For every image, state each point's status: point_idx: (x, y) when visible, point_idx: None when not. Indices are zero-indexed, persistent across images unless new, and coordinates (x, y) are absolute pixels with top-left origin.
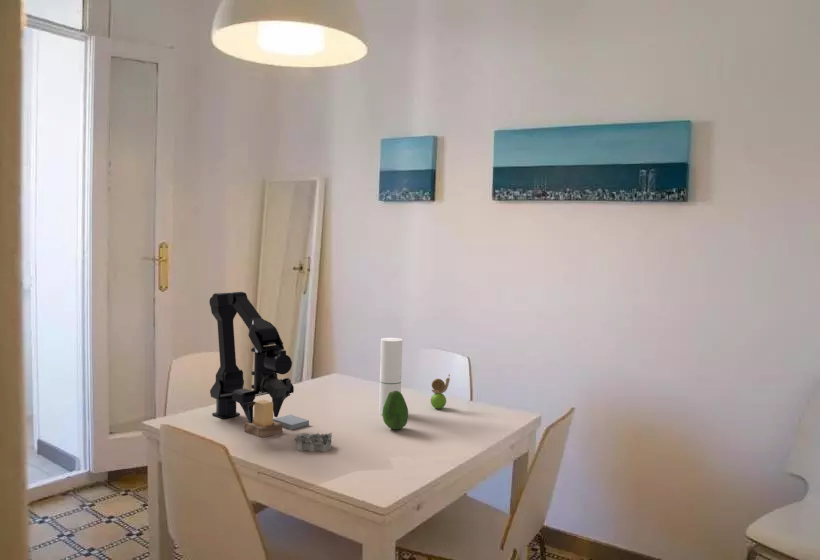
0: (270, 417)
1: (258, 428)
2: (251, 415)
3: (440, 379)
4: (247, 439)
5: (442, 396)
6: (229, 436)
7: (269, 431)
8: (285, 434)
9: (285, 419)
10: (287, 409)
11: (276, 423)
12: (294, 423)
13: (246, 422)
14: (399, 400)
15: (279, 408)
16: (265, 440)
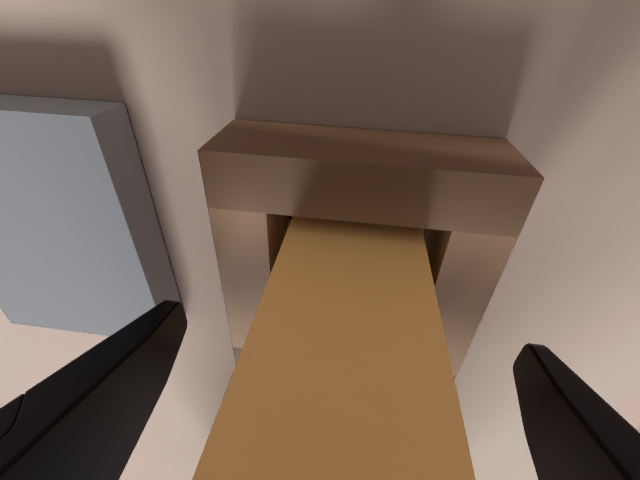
0: (310, 293)
1: (512, 238)
2: (634, 446)
3: None
4: (631, 201)
5: None
6: (602, 343)
7: (406, 147)
8: (254, 20)
9: (84, 276)
10: (10, 392)
11: (248, 211)
12: (39, 133)
13: None
14: None
15: (77, 373)
16: (590, 16)
